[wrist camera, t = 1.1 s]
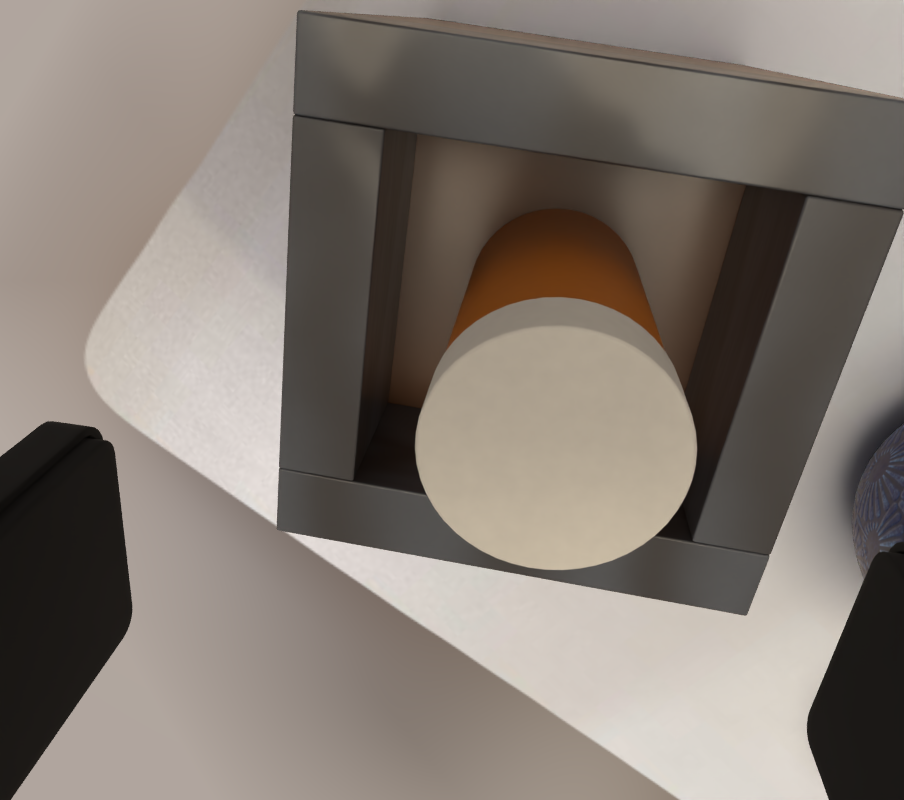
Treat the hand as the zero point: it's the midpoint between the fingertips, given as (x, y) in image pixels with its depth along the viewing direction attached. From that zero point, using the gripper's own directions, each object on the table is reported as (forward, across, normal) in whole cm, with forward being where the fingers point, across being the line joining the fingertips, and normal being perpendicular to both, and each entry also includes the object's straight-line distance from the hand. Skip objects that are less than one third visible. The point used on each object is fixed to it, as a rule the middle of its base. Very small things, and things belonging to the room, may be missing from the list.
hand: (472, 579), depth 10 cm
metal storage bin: (+35, -2, +2) cm, 36 cm away
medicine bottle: (+19, -1, +2) cm, 20 cm away
